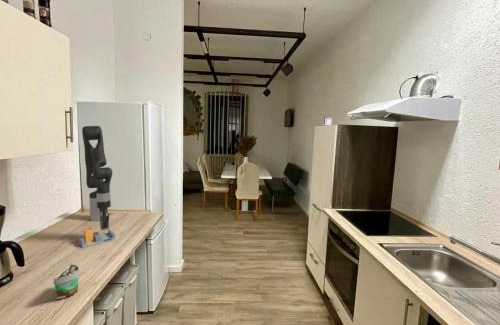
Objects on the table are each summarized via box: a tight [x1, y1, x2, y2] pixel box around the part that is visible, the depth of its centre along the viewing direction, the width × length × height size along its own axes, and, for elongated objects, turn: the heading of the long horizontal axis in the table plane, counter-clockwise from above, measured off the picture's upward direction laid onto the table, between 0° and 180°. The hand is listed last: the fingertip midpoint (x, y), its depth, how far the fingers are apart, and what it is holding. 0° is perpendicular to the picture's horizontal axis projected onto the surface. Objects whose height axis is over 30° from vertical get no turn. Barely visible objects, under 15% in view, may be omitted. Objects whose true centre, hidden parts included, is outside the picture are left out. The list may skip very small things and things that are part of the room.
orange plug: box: [83, 227, 94, 243], centre depth 162 cm, size 4×4×7 cm
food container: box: [53, 264, 81, 301], centre depth 113 cm, size 12×6×10 cm, turn 5°
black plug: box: [99, 217, 110, 231], centre depth 167 cm, size 4×4×7 cm
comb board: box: [77, 228, 117, 249], centre depth 165 cm, size 13×18×4 cm
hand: (104, 226), depth 167 cm, fingers closed on black plug, 4 cm apart
